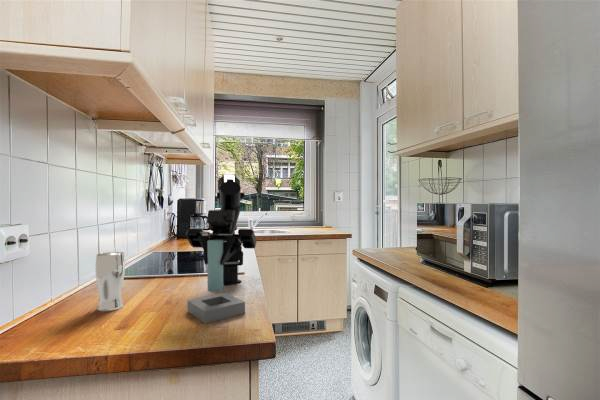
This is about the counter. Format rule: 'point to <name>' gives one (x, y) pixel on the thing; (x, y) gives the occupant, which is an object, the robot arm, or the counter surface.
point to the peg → (215, 265)
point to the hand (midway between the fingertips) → (213, 263)
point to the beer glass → (110, 280)
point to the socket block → (216, 307)
